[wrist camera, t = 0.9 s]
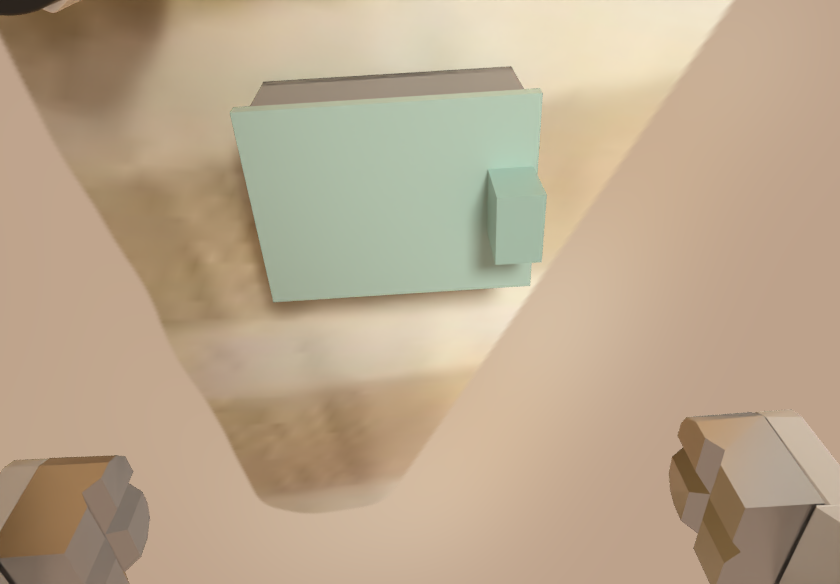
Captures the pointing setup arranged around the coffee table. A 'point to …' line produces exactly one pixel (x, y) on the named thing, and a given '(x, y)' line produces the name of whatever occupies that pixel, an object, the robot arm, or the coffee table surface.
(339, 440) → the coffee table surface
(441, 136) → the lid
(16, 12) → the jar
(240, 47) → the coffee table surface
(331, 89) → the tub
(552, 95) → the coffee table surface
